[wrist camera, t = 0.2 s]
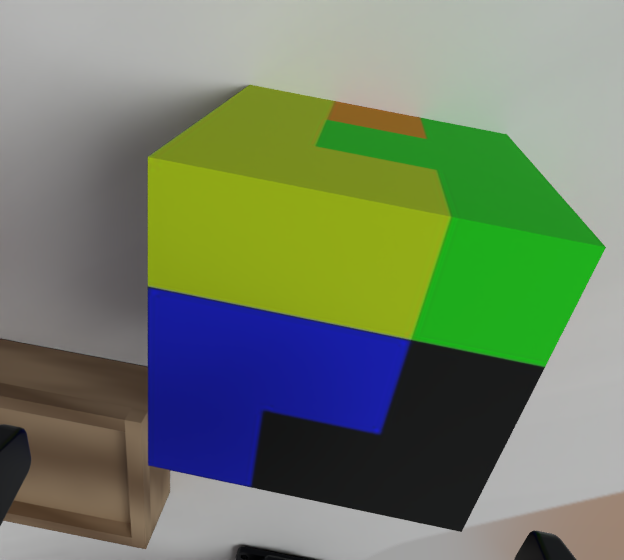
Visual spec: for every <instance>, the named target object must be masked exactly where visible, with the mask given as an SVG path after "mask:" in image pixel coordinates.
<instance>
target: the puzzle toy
mask: <svg viewBox="0 0 624 560" xmlns="http://www.w3.org/2000/svg"><path fill="white" fill-rule="evenodd" d="M605 248H606V247H605V246H604V245H603V244H602V242H601V241H600V240H599V239H598V238H597V237H596V236H595V234H594V233H593V232H592V231H591V230H590V229H589V228H588V227H587V225H586V224H585V223H584V222H583V221H582V220H581V219H580V217H579V216H578V215H577V214H576V213H575V212H574V211H573V209H572V208H571V207H570V206H569V205H568V204H567V203H566V201H565V200H564V199H563V198H562V197H561V196H560V195H559V193H558V192H557V191H556V190H555V189H554V188H553V187H552V185H551V184H550V183H549V182H548V181H547V180H546V179H545V177H544V176H543V175H542V174H541V173H540V172H539V171H538V169H537V168H536V167H535V166H534V165H533V164H532V163H531V162H530V160H529V159H528V158H527V157H526V156H525V155H524V154H523V152H522V151H521V150H520V149H519V148H518V147H517V146H516V144H515V143H514V142H513V141H512V140H511V139H510V138H509V136H508V135H507V134H502V133H497V132H491V131H486V130H481V129H476V128H471V127H466V126H460V125H455V124H450V123H445V122H440V121H434V120H429V119H424V118H419V117H414V116H409V115H403V114H398V113H393V112H388V111H383V110H378V109H372V108H367V107H362V106H357V105H352V104H347V103H341V102H336V101H331V100H326V99H321V98H315V97H310V96H305V95H300V94H295V93H290V92H284V91H279V90H274V89H269V88H264V87H259V86H253V85H249V86H247V87H246V88H245V89H243V90H242V91H240V92H239V93H237V94H236V95H235V96H233V97H232V98H230V99H229V100H227V101H226V102H225V103H223V104H222V105H220V106H219V107H218V108H216V109H215V110H213V111H212V112H210V113H209V114H208V115H206V116H205V117H203V118H202V119H201V120H199V121H198V122H196V123H195V124H193V125H192V126H191V127H189V128H188V129H186V130H185V131H184V132H182V133H181V134H179V135H178V136H176V137H175V138H174V139H172V140H171V141H169V142H168V143H167V144H165V145H164V146H162V147H161V148H159V149H158V150H157V151H155V152H154V153H152V154H151V155H150V156H148V466H153V467H157V468H162V469H167V470H172V471H176V472H181V473H186V474H191V475H195V476H200V477H205V478H209V479H214V480H219V481H224V482H228V483H233V484H238V485H243V486H247V487H252V488H257V489H262V490H266V491H271V492H276V493H280V494H285V495H290V496H295V497H299V498H304V499H309V500H314V501H318V502H323V503H328V504H333V505H337V506H342V507H347V508H352V509H356V510H361V511H366V512H370V513H375V514H380V515H385V516H389V517H394V518H399V519H404V520H408V521H413V522H418V523H423V524H427V525H432V526H437V527H441V528H446V529H451V530H456V531H460V532H462V530H463V528H464V526H465V524H466V522H467V520H468V518H469V516H470V514H471V512H472V510H473V508H474V506H475V504H476V502H477V500H478V498H479V496H480V494H481V492H482V490H483V488H484V486H485V484H486V482H487V480H488V478H489V476H490V474H491V473H492V471H493V469H494V467H495V465H496V463H497V461H498V459H499V457H500V455H501V453H502V451H503V449H504V447H505V445H506V443H507V441H508V439H509V437H510V435H511V433H512V431H513V429H514V427H515V425H516V423H517V421H518V419H519V417H520V415H521V413H522V411H523V409H524V407H525V405H526V404H527V402H528V400H529V398H530V396H531V394H532V392H533V390H534V388H535V386H536V384H537V382H538V380H539V378H540V376H541V374H542V372H543V370H544V368H545V366H546V364H547V362H548V360H549V358H550V356H551V354H552V352H553V350H554V348H555V346H556V344H557V342H558V340H559V338H560V336H561V334H562V333H563V331H564V329H565V327H566V325H567V323H568V321H569V319H570V317H571V315H572V313H573V311H574V309H575V307H576V305H577V303H578V301H579V299H580V297H581V295H582V293H583V291H584V289H585V287H586V285H587V283H588V281H589V279H590V277H591V275H592V273H593V271H594V269H595V267H596V265H597V264H598V262H599V260H600V258H601V256H602V254H603V252H604V250H605Z"/></svg>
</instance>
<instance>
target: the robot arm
mask: <svg viewBox="0 0 624 560" xmlns="http://www.w3.org/2000/svg"><path fill="white" fill-rule="evenodd" d="M30 466H31V453H30V448H29V443H28V437H27V433H26V431H25V430H24V428H21V427H17V426H12V425H7V424H2V425H0V526H1V524H2V522H3V520H4V518H5V516H6V514H7V512H8V510H9V508H10V506H11V505H12V503H13V501H14V499H15V497H16V495H17V493H18V491H19V489H20V487H21V485H22V483H23V482H24V480H25V478H26V476H27V474H28V472H29V469H30ZM236 560H309V559H304V558H299V557H294V556H289V555H284V554H279V553H274V552H269V551H264V550H259V549H254V548H249V547H240V548H239V549H238V552H237V557H236ZM515 560H576V559H575V557H574V556H573V555H572V553H571V552H570V551H569V549H568V548H567V547H566V546H565V544H564V543H563V542H562V540H561V539H560V538H558V537H557V536H556V535H554V534H550V533H545V532H540V531H532V532H530V533H529V535H528V536H527V538H526V540H525V541H524V543H523V545H522V546H521V548H520V550H519V552H518V553H517V555H516V557H515Z"/></svg>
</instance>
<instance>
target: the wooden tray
mask: <svg viewBox="0 0 624 560" xmlns="http://www.w3.org/2000/svg"><path fill="white" fill-rule="evenodd" d="M2 424H7V425H12V426H17V427H21V428H24V430H25V431H26V433H27V437H28V443H29V448H30V453H31V466H30V469H29V472H28V474H27V476H26V478H25V480H24V482H23V483H22V485H21V487H20V489H19V491H18V493H17V495H16V497H15V499H14V501H13V503H12V505H11V506H10V508H9V510H8V512H7V514H6V516H5V518H4V520H3V521H8V522H13V523H18V524H23V525H28V526H33V527H38V528H43V529H48V530H53V531H58V532H63V533H68V534H73V535H78V536H83V537H88V538H93V539H98V540H103V541H108V542H113V543H118V544H122V545H127V546H132V547H137V548H142V549H146V548H147V545H148V543H149V541H150V538H151V536H152V533H153V531H154V529H155V526H156V524H157V522H158V519H159V517H160V514H161V512H162V510H163V507H164V505H165V503H166V500H167V498H168V495H169V493H170V470H167V469H162V468H157V467H153V466H148V367H145V366H140V365H135V364H130V363H124V362H119V361H114V360H109V359H103V358H98V357H93V356H88V355H82V354H77V353H72V352H66V351H61V350H56V349H51V348H45V347H40V346H35V345H30V344H24V343H19V342H14V341H9V340H3V339H0V425H2Z"/></svg>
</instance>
